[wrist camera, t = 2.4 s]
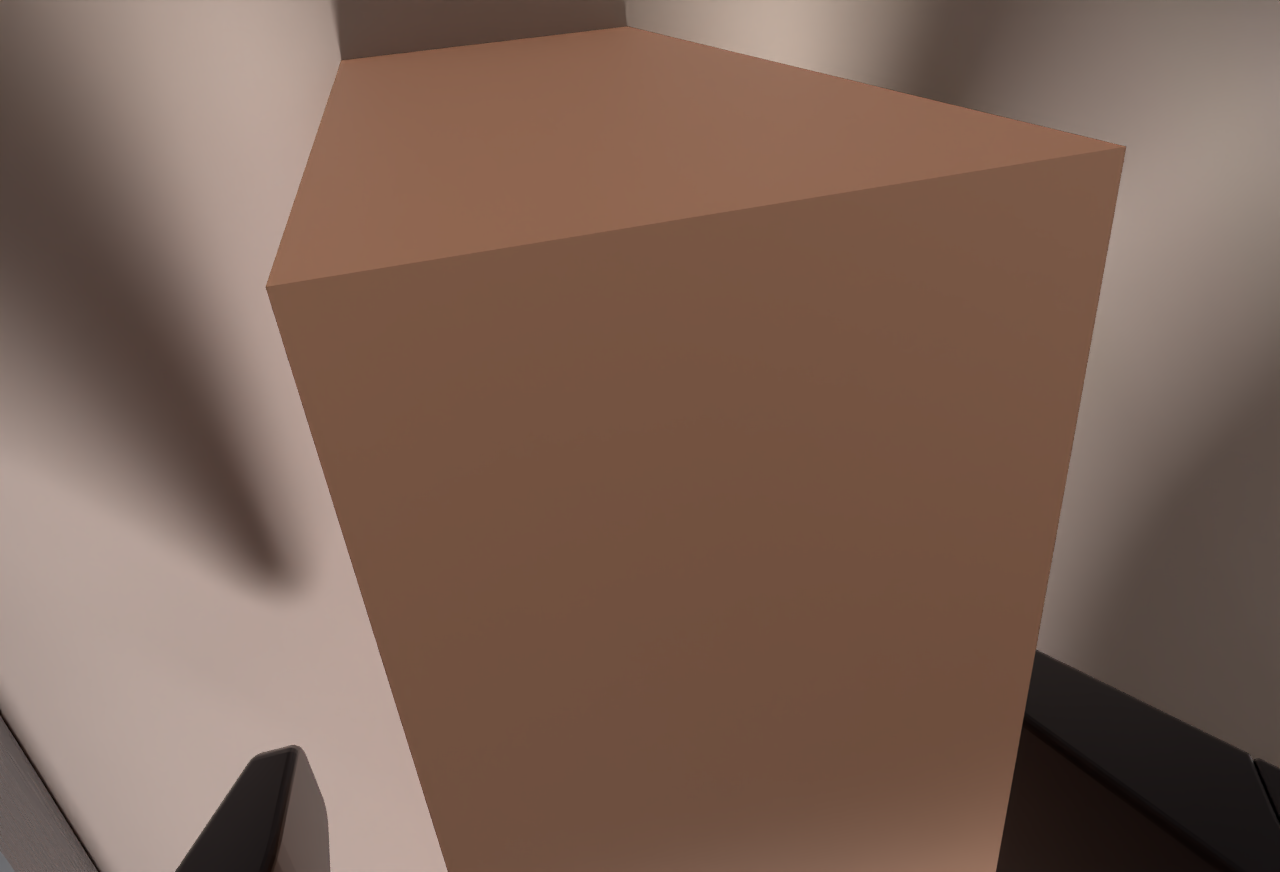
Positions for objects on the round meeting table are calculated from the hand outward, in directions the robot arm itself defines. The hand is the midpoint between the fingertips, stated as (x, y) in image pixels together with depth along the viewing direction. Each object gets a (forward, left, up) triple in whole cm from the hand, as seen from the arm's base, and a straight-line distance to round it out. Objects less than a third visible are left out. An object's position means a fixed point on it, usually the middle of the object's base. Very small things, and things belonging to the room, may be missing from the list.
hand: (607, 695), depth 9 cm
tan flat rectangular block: (0, 0, -2) cm, 2 cm away
